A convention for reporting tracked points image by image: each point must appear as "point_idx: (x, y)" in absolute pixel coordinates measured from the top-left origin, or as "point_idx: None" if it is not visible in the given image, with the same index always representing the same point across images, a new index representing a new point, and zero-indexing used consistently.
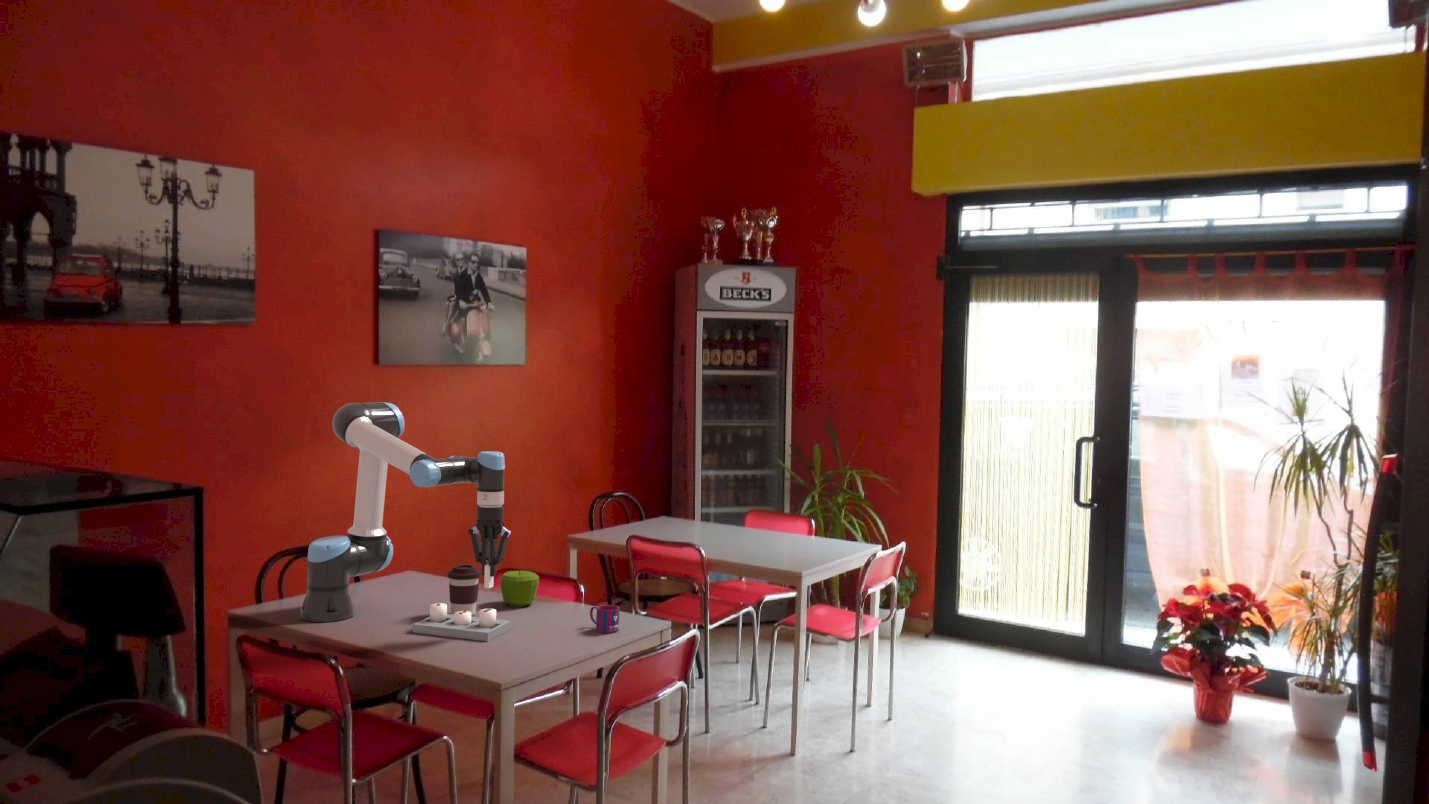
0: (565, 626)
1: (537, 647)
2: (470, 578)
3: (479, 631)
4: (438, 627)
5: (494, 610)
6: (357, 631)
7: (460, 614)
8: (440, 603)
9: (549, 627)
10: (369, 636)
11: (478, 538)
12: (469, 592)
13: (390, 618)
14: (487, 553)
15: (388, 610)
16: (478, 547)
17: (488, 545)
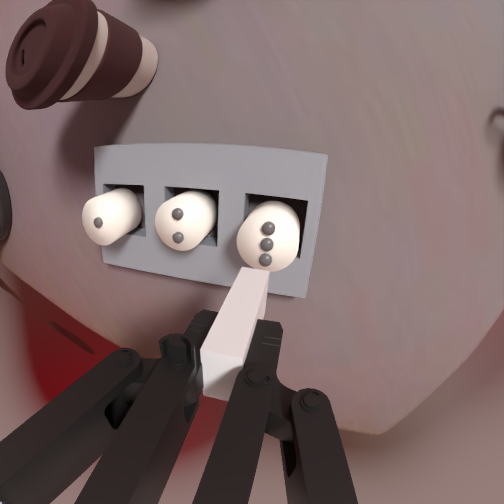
0: (456, 99)
1: (427, 300)
2: (78, 73)
3: (277, 291)
4: (161, 273)
5: (290, 236)
6: (53, 268)
7: (181, 244)
8: (92, 201)
9: (423, 113)
10: (81, 292)
11: (25, 484)
12: (110, 75)
13: (39, 173)
14: (171, 442)
15: (19, 127)
16: (84, 455)
17: (140, 496)
